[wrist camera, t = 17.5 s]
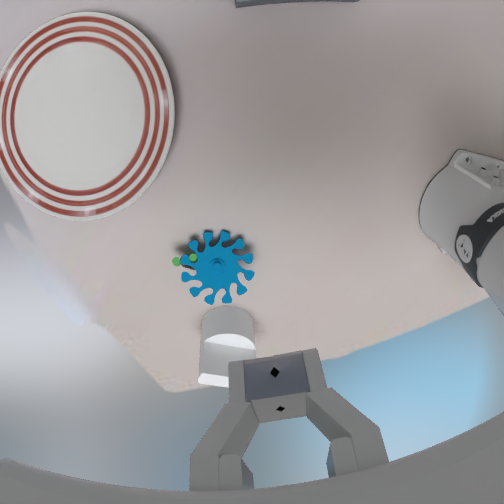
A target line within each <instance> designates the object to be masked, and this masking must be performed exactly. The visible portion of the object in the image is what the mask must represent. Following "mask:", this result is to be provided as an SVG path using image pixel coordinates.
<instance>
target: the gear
mask: <svg viewBox="0 0 504 504" xmlns="http://www.w3.org/2000/svg"><path fill="white" fill-rule="evenodd" d="M203 238H204V240H205V243H206V245H205V250H204V252H202V253H200V252H198V251H197V249H198V242H197V241H196V240H193V241H191V242H190V243H189V244H188V245H189V248H190V249H191V250H193V251H194V252H195V254H191V255H190V256H188V255H186V254H184V255H183V256H182V257H181V258H180V259H179V258H178V257H175V258H173V260H172V262H173V264H174V265H175V266H179V265H180V264H181V265H182V266H183V267H185V268H189V269H193V270H196V271H197V273H196V275H195V276H191V275H190V274H189V273H187V272H182V276H181V277H182V281H183V282H188V281H190V280H199V281H201V282H202V286H201V287H200V288H197V287H191V288H190V289H189V290H190V293H191V294H192V296H193V297H196V296H198V294H199V293H200V292H201V291H202V290H203V289H206V288H212V289H213V293H212V294H211V295H208V296H206V297H205V299H204V301H205V302H207V303H208V304H210V305H212V304H213V303H214V298H215V295H216V293H217V292H218V291H219V290H220V289H221V288H223V289H225V290H226V294H225V295H224V296H223V298H222V302H223V303H231V302H232V298H231V296H230V293H229V289H230V284H231V283H236V284H237V294H238V295H242V294H244V293H245V292H246V291H247V289H246V287H245V286H243V285H242V284H241V283H240V282H239V280H238V277H237V273H239V272H242V273H244V276H245V278H246V280H248V281H250V280H251V279H252V278H253V276H254V272H253V271H251V270H245V269H243V268H242V267H241V266H239V264H238V261H239V260H244V261H245V262H246V263H248V264H250V263H252V261H253V256H252V254H251V253H248V254H246V255H242V256H239V255H234V254H233V253H232V250H233V249H234V248H236V249H243V248H244V246H245V245H244V242H243V241H242V240H241V239H238V240H236V242H235V243H234V244H233V245H232V246H230V247H227V248H224V247H222V245H221V244H222V242H225V241H228V240H229V238H230V234H228V233H227V232H225V231H222V232H221V234H220V240H219V242H218V243H217V244H216V245H215V246H214V247H210V246H209V242H210V241H211V240H212V239H213V234H212V233H211V232H206V233H204V234H203Z"/></svg>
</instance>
